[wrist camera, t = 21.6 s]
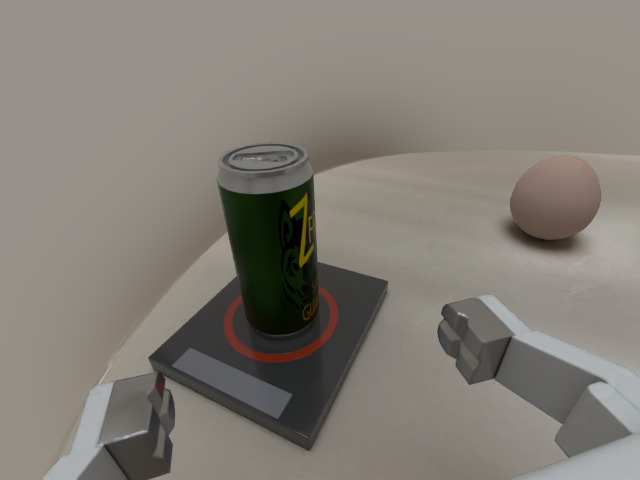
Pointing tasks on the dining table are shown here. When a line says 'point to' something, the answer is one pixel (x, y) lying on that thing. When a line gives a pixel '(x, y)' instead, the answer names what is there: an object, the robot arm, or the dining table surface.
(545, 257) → the dining table surface
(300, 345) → the hob
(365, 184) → the dining table surface
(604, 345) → the dining table surface
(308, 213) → the beer can
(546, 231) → the egg
